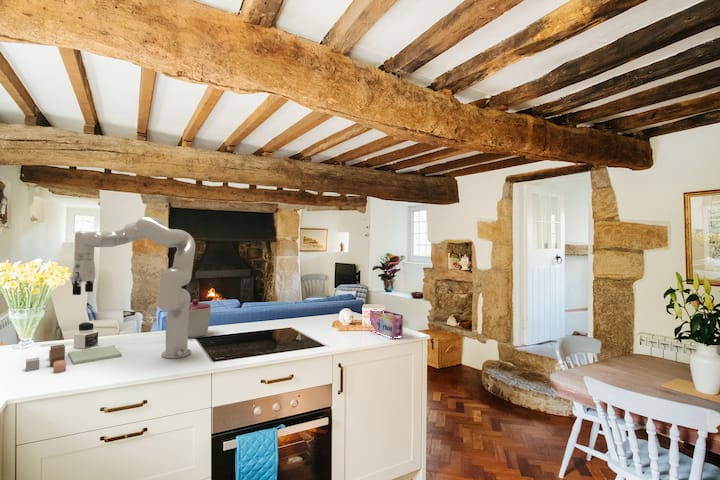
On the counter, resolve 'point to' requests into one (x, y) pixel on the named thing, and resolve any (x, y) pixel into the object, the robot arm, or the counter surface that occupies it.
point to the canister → (198, 318)
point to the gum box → (387, 323)
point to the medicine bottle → (86, 336)
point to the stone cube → (32, 364)
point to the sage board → (94, 354)
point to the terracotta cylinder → (59, 366)
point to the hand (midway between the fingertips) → (83, 293)
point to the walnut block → (57, 353)
